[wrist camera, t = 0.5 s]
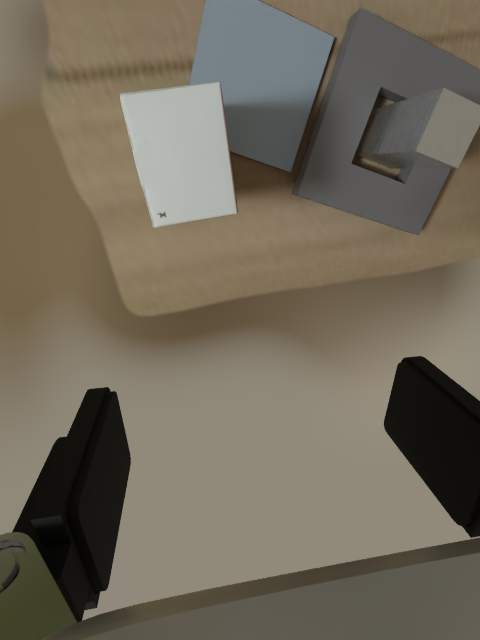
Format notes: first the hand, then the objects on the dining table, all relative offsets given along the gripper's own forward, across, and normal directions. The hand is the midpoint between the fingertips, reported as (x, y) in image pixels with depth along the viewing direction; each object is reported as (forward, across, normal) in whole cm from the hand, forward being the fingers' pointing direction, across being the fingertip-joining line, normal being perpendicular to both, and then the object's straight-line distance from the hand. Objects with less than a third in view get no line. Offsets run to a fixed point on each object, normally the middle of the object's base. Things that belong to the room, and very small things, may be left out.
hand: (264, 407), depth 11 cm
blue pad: (+29, -5, -14) cm, 33 cm away
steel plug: (+29, -20, -10) cm, 36 cm away
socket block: (+29, -20, -10) cm, 36 cm away
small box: (+29, +2, -8) cm, 30 cm away
